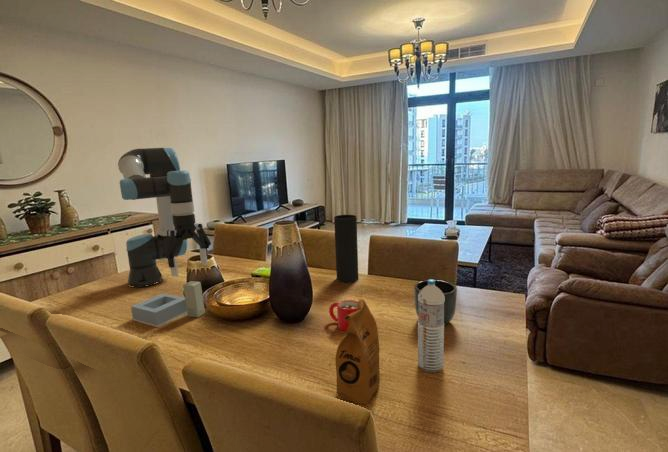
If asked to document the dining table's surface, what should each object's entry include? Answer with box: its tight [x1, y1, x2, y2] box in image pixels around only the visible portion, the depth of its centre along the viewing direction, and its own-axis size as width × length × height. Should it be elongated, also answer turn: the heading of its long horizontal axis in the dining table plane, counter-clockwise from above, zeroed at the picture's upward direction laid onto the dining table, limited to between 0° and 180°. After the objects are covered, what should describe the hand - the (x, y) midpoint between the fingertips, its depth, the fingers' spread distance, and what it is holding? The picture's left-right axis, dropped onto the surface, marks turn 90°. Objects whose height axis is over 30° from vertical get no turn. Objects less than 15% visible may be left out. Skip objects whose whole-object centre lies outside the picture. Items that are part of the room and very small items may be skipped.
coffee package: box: [334, 298, 381, 405], centre depth 91 cm, size 10×12×22 cm
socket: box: [130, 293, 187, 328], centre depth 141 cm, size 14×14×6 cm
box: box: [182, 280, 206, 318], centre depth 140 cm, size 5×4×13 cm
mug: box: [328, 299, 358, 332], centre depth 127 cm, size 8×12×8 cm, turn 59°
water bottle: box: [417, 278, 445, 374], centre depth 99 cm, size 7×7×25 cm
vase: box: [333, 214, 359, 284], centre depth 170 cm, size 10×10×30 cm
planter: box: [413, 279, 458, 327], centre depth 126 cm, size 14×14×13 cm
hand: (190, 270), depth 137 cm, fingers open, 13 cm apart
